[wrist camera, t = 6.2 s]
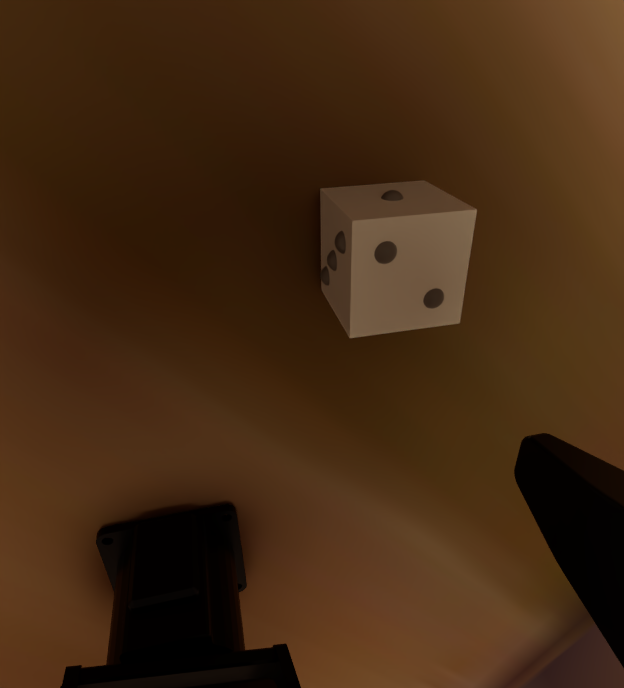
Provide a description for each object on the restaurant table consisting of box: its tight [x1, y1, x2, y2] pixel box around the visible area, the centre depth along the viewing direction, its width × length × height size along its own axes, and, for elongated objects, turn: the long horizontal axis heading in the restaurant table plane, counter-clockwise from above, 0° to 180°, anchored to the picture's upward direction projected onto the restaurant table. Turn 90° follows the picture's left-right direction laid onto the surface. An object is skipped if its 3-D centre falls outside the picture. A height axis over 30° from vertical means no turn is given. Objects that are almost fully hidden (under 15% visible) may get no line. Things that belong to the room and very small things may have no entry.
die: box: [320, 180, 477, 338], centre depth 18 cm, size 4×4×4 cm
